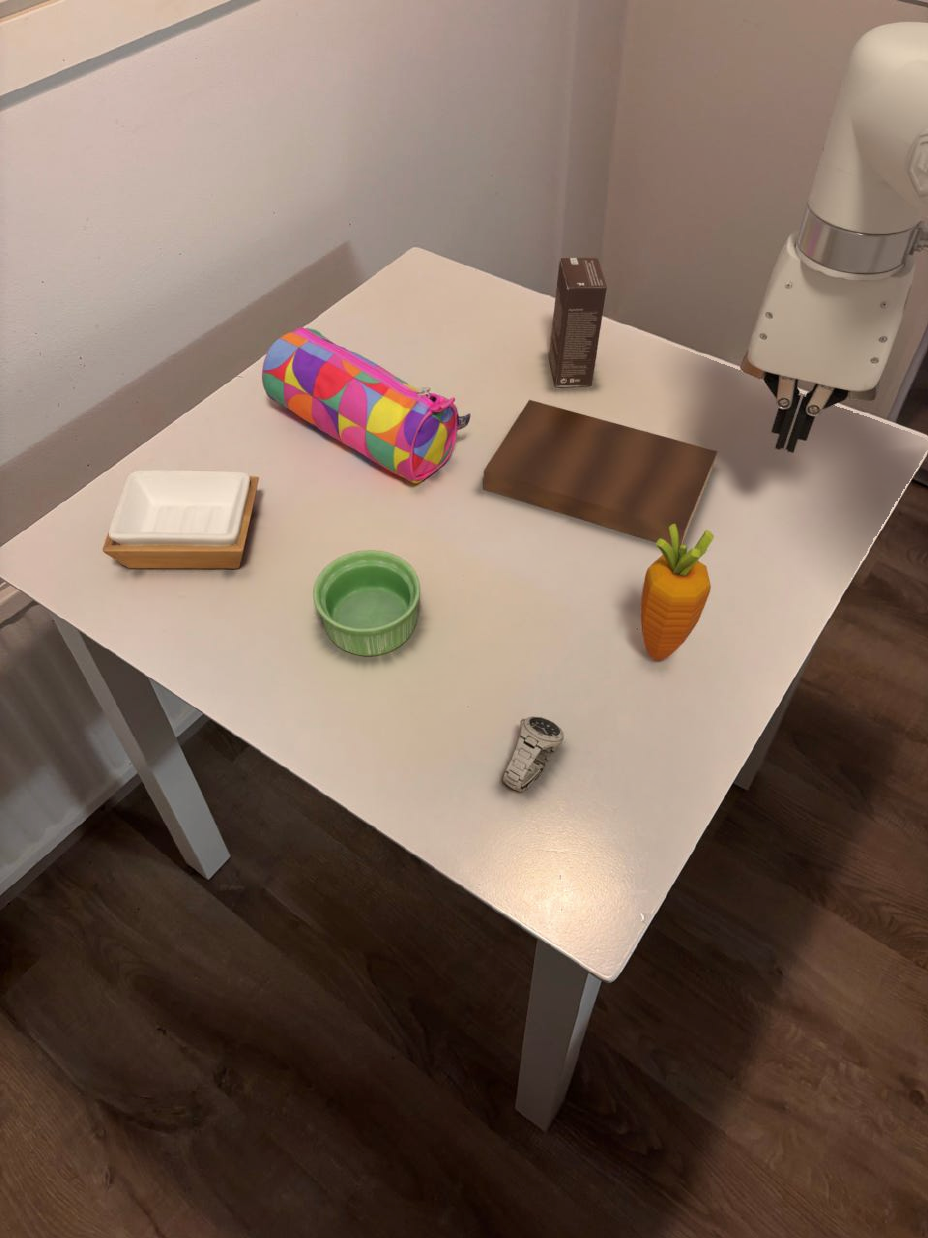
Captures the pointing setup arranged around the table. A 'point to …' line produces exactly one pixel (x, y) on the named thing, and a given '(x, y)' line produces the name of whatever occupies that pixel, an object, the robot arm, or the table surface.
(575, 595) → the table surface
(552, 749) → the wristwatch
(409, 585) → the ramekin
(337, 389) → the pencil case
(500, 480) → the cutting board
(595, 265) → the box
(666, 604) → the carrot
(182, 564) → the soap dish
